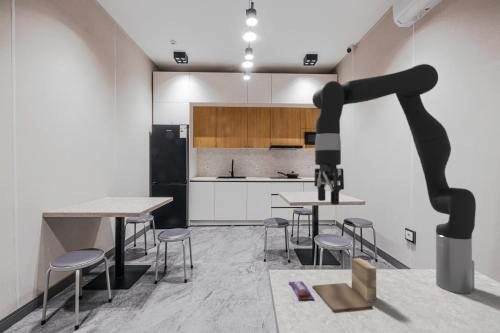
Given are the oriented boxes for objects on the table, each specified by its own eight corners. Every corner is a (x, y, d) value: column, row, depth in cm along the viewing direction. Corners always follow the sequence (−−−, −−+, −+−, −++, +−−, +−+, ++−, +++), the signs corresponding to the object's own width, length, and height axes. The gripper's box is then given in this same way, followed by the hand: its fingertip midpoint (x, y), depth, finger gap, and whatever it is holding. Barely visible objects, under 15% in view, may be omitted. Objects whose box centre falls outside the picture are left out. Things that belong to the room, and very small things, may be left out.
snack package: (288, 279, 84) (302, 278, 85) (288, 284, 84) (302, 284, 85) (298, 296, 73) (314, 295, 73) (298, 303, 73) (314, 302, 73)
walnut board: (345, 284, 83) (345, 283, 83) (372, 308, 69) (372, 305, 69) (312, 287, 81) (312, 285, 81) (333, 311, 67) (333, 309, 67)
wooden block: (360, 288, 81) (360, 258, 81) (376, 301, 73) (376, 268, 73) (351, 289, 80) (351, 258, 80) (367, 302, 72) (367, 268, 72)
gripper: (352, 147, 68) (352, 205, 68) (328, 151, 82) (328, 199, 82) (327, 147, 67) (327, 206, 67) (307, 151, 81) (307, 199, 81)
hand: (327, 202), depth 75 cm, fingers open, 8 cm apart
